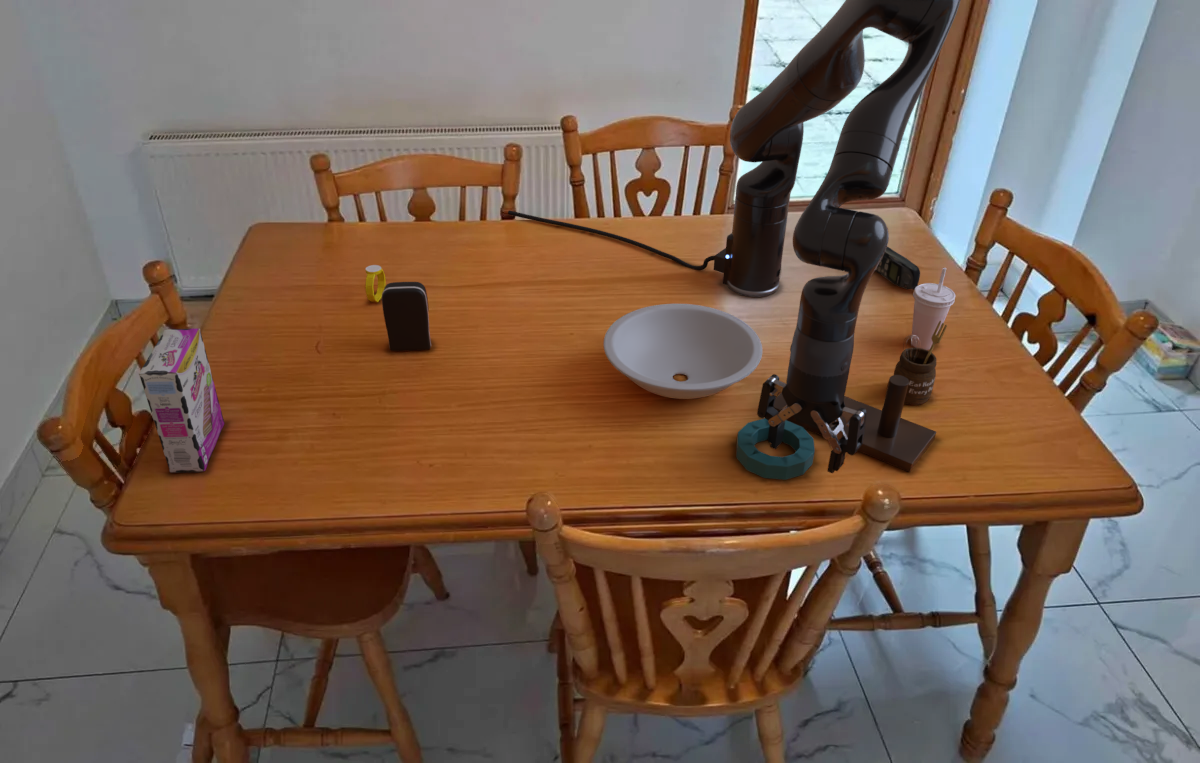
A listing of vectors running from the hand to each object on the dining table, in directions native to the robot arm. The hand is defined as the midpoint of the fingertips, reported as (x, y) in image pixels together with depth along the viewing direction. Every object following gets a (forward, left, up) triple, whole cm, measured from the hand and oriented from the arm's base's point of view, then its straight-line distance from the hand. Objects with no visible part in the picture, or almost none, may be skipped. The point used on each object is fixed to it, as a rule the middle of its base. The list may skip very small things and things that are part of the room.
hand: (803, 457), depth 126 cm
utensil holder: (+5, +26, -2) cm, 26 cm away
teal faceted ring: (-4, 0, -2) cm, 5 cm away
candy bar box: (-69, -48, -2) cm, 84 cm away
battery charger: (-65, -11, -2) cm, 66 cm away
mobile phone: (-12, +59, -2) cm, 60 cm away
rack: (+1, +13, -2) cm, 13 cm away
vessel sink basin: (-25, +8, -2) cm, 26 cm away
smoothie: (+1, +41, -2) cm, 41 cm away
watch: (-81, -4, -2) cm, 81 cm away
